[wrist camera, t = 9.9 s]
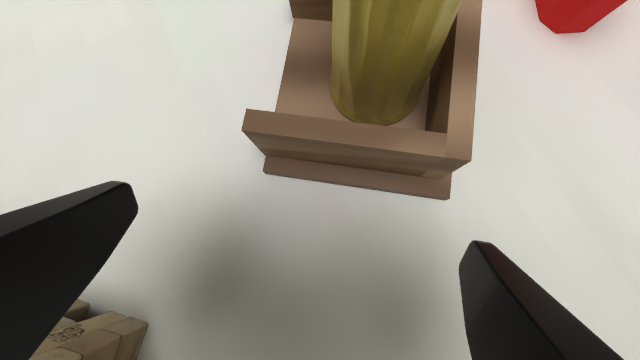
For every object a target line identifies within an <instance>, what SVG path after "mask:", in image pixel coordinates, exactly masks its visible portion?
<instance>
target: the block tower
mask: <svg viewBox="0 0 640 360" xmlns="http://www.w3.org/2000/svg"><path fill="white" fill-rule="evenodd" d="M88 308H89V303H87V302H84V301H81V300H79V299H77V300H76V301H75V302H74V303H73V305H72V306H71V307H70V309H69V310H68V311H67V312H66V314H65V315H64V316H63V317H62V319H61V320H60V321H59V322H58V324H57V325H56V326H55V327H54V329H53V330H52V331H51V333H50V334H49V335H48V336H47V338H46V339H45V340H44V341H43V343H42V344H41V345H40V346H39V348H38V349H37V350H36V351H35V353H34V354H33V355H32V357H31V358H30V359H29V360H136V358H137V355H138V352H139V349H140V346H141V343H142V341H143V338H144V335H145V332H146V330H147V327H148V323H146V322H143V321H140V320H137V319H134V318H132V317H126V316H124V315H121V314H119V313H116V312H113V311H110V312H107V313H104V314H101V315H98V316H95V317H93V318H90V319H87V320H84V319H85V316H86V314H87V311H88Z"/></svg>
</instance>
